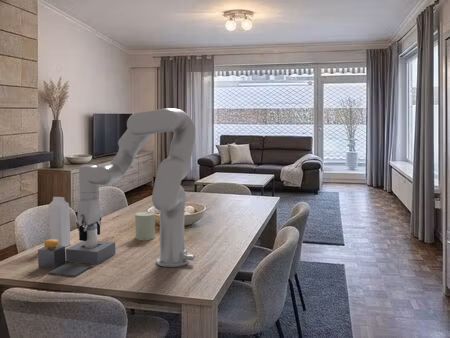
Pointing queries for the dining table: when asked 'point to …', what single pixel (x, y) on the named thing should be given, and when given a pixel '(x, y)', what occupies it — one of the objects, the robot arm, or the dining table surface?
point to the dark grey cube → (51, 257)
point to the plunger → (51, 243)
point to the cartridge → (91, 236)
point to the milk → (59, 221)
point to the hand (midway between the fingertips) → (90, 237)
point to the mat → (70, 270)
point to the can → (145, 225)
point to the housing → (90, 252)
